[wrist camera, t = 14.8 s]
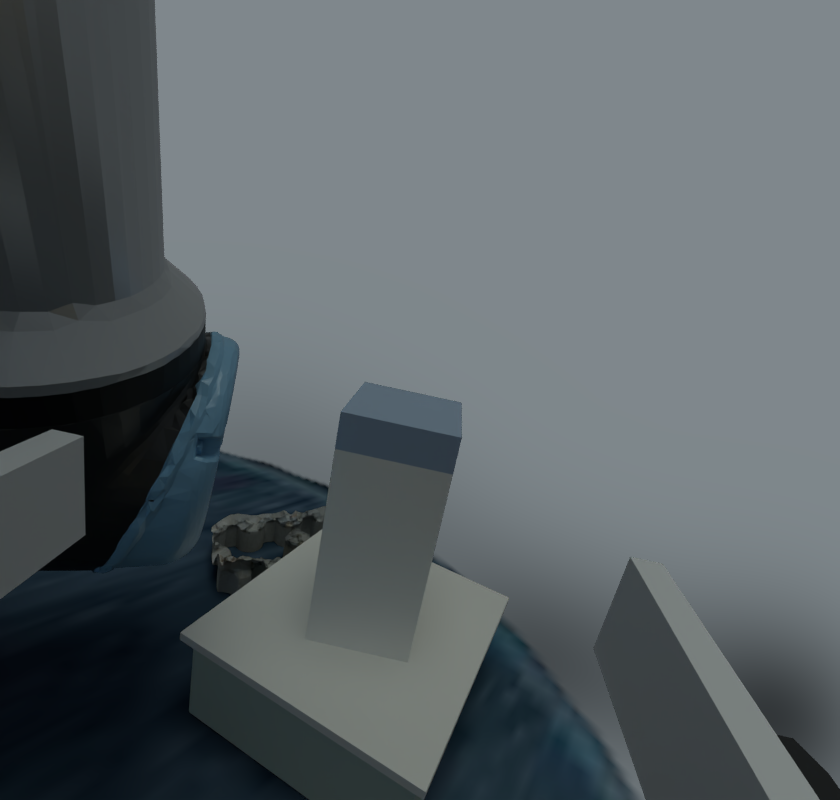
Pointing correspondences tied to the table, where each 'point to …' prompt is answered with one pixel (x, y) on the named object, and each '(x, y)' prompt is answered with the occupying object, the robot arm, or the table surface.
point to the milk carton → (382, 518)
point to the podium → (338, 684)
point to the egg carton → (258, 542)
